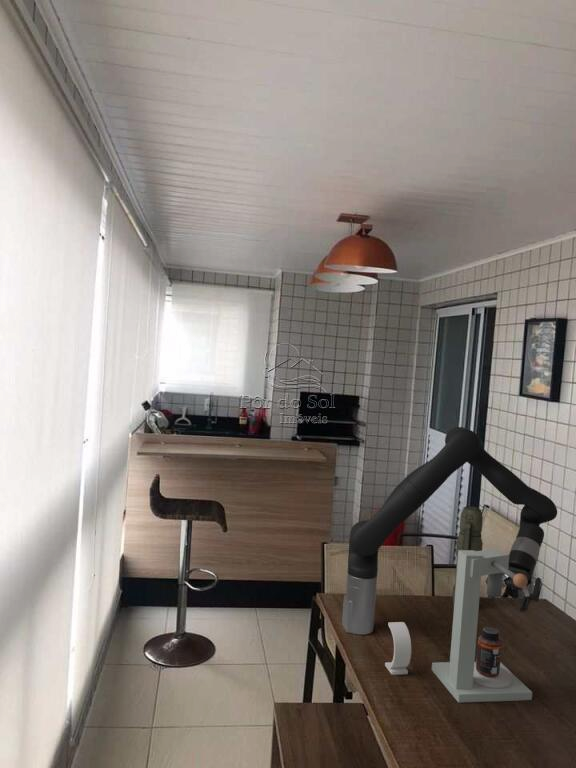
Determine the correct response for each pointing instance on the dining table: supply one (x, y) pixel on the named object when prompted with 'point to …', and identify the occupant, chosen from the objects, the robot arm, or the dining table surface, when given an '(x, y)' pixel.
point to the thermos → (469, 533)
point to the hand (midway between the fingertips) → (506, 605)
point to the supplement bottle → (489, 653)
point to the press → (462, 664)
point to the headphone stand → (399, 648)
